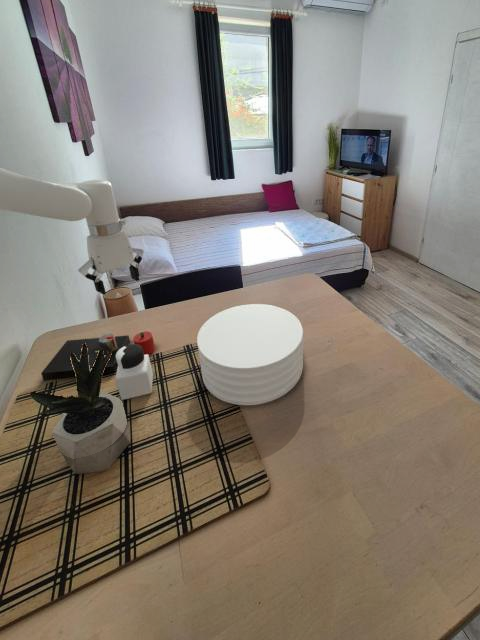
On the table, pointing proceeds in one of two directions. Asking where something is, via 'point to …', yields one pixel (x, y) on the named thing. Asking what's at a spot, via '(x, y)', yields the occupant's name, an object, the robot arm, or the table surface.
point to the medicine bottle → (133, 372)
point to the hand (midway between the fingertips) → (119, 285)
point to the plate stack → (251, 353)
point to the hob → (62, 363)
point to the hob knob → (108, 343)
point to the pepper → (145, 342)
